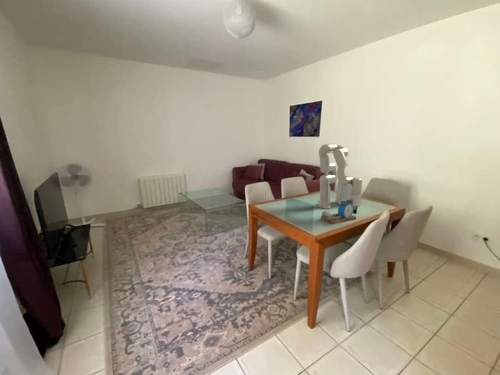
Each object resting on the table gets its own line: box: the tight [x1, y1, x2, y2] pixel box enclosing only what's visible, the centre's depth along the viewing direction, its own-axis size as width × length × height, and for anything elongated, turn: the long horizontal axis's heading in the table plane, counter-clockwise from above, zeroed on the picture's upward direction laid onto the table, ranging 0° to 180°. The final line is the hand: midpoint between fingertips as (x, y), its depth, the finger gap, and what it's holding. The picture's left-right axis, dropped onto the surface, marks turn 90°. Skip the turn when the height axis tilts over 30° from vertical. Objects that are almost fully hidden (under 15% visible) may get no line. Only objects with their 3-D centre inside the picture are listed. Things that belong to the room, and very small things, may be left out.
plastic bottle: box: [335, 175, 352, 206], centre depth 222 cm, size 15×15×28 cm
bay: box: [334, 212, 357, 224], centre depth 185 cm, size 13×22×2 cm, turn 112°
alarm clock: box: [337, 200, 354, 218], centre depth 186 cm, size 13×6×15 cm, turn 120°
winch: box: [320, 210, 337, 225], centre depth 179 cm, size 16×5×8 cm, turn 21°
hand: (354, 213), depth 191 cm, fingers closed
